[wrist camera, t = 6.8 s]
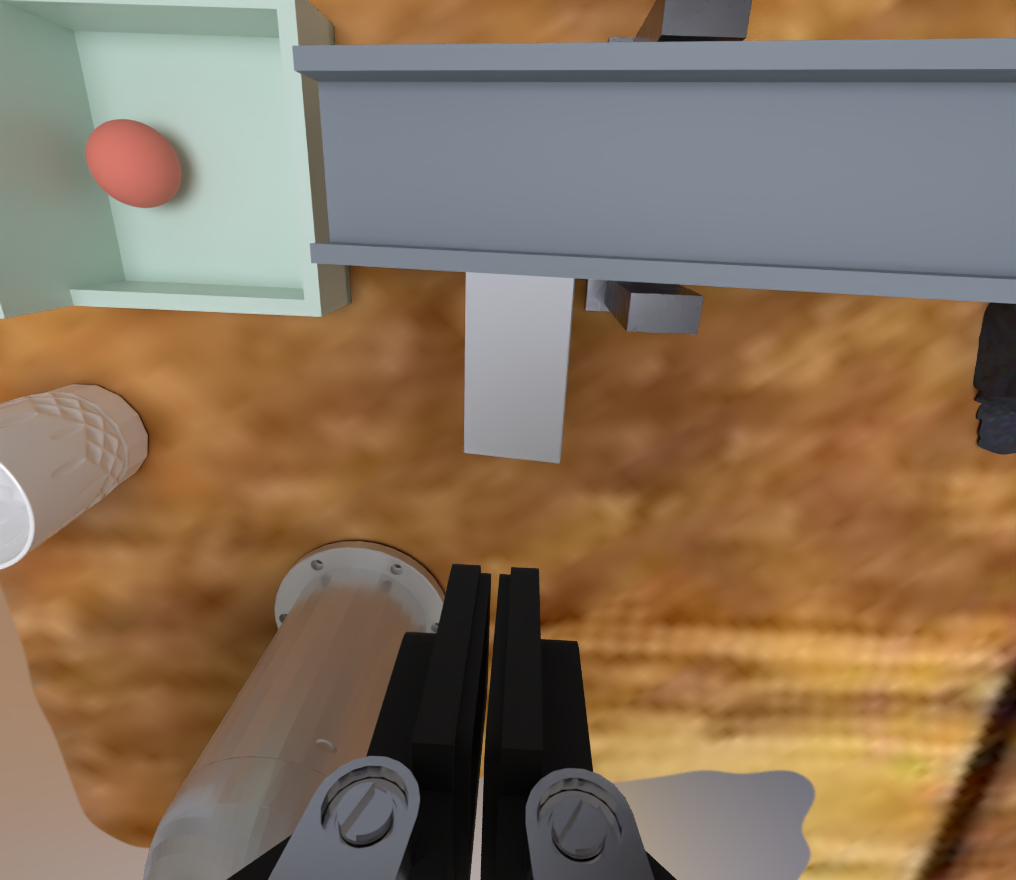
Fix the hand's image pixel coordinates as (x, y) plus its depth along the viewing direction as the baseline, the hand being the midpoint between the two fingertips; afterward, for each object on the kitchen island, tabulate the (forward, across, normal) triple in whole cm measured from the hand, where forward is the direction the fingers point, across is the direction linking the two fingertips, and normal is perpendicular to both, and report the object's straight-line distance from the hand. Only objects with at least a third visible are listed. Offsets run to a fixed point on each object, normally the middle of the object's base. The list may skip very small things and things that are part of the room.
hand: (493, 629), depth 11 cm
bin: (+24, +17, -9) cm, 31 cm away
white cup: (+25, +27, +6) cm, 37 cm away
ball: (+22, +20, -9) cm, 31 cm away
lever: (+19, -7, -5) cm, 21 cm away
